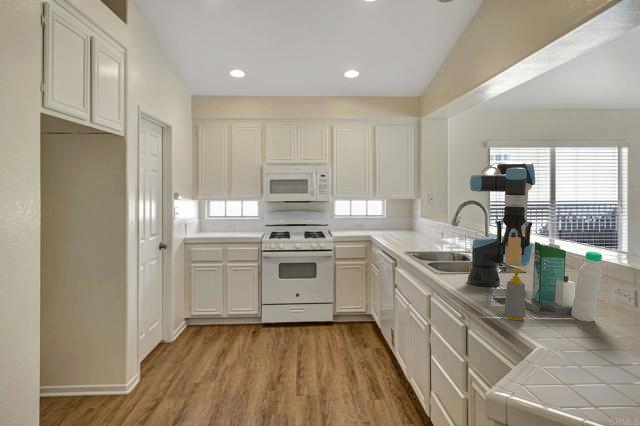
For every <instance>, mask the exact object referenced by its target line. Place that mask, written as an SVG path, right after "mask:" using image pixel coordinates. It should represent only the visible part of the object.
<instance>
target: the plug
mask: <svg viewBox="0 0 640 426" xmlns="http://www.w3.org/2000/svg"><path fill="white" fill-rule="evenodd" d="M515 235H516V232H511V237H508V240H507V244H506V247H508V254H507V263H506V264H508V265H507V266H515V265H520V248H521V238H519V237H515Z"/></svg>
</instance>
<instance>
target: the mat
mask: <svg viewBox="0 0 640 426" xmlns="http://www.w3.org/2000/svg"><path fill="white" fill-rule="evenodd" d="M491 299H492V300H493V301H495V302H497V303H498V304H500V305H504V306H505V300H506V297H491Z"/></svg>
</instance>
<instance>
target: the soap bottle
mask: <svg viewBox="0 0 640 426" xmlns="http://www.w3.org/2000/svg"><path fill="white" fill-rule="evenodd" d="M511 270H512V271H513V275H514V276H512V278H510V280H509V281H507V282H506V291H505V298H506V300H505V305H504V311H503V312H504V313H503V314H504V315H505V317H506V319H509V320H513V321H522V320H524V318H525V317H526V307H525V301H526V289H525V285H526V284H525V282H522V280H521V278H520V276H519V273H527V270H521V269H516V268H511Z"/></svg>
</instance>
